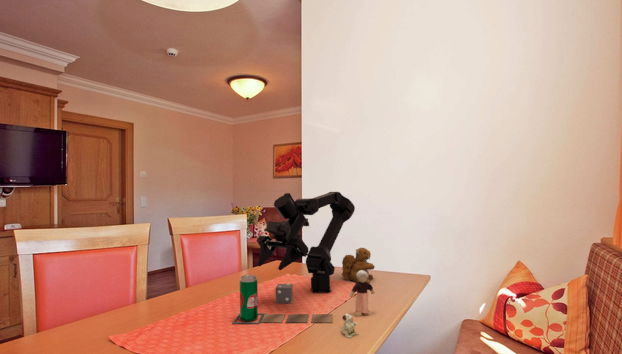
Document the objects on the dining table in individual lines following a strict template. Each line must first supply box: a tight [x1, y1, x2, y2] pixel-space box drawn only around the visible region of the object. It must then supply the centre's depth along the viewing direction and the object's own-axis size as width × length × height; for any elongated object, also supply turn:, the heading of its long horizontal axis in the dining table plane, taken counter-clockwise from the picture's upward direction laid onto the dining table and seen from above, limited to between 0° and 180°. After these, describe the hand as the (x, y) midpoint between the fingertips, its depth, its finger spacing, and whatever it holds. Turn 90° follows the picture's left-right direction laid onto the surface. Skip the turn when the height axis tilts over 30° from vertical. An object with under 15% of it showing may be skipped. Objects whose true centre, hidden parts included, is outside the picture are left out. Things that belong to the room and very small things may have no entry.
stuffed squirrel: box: [341, 247, 375, 284], centre depth 137 cm, size 10×14×13 cm
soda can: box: [239, 274, 259, 322], centre depth 96 cm, size 5×5×12 cm
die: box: [275, 283, 294, 305], centre depth 111 cm, size 5×5×5 cm
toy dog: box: [339, 313, 359, 339], centre depth 84 cm, size 4×5×5 cm
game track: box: [231, 312, 334, 325], centre depth 95 cm, size 28×8×1 cm, turn 87°
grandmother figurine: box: [349, 270, 375, 317], centre depth 98 cm, size 8×4×13 cm, turn 117°
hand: (268, 267), depth 103 cm, fingers open, 9 cm apart
